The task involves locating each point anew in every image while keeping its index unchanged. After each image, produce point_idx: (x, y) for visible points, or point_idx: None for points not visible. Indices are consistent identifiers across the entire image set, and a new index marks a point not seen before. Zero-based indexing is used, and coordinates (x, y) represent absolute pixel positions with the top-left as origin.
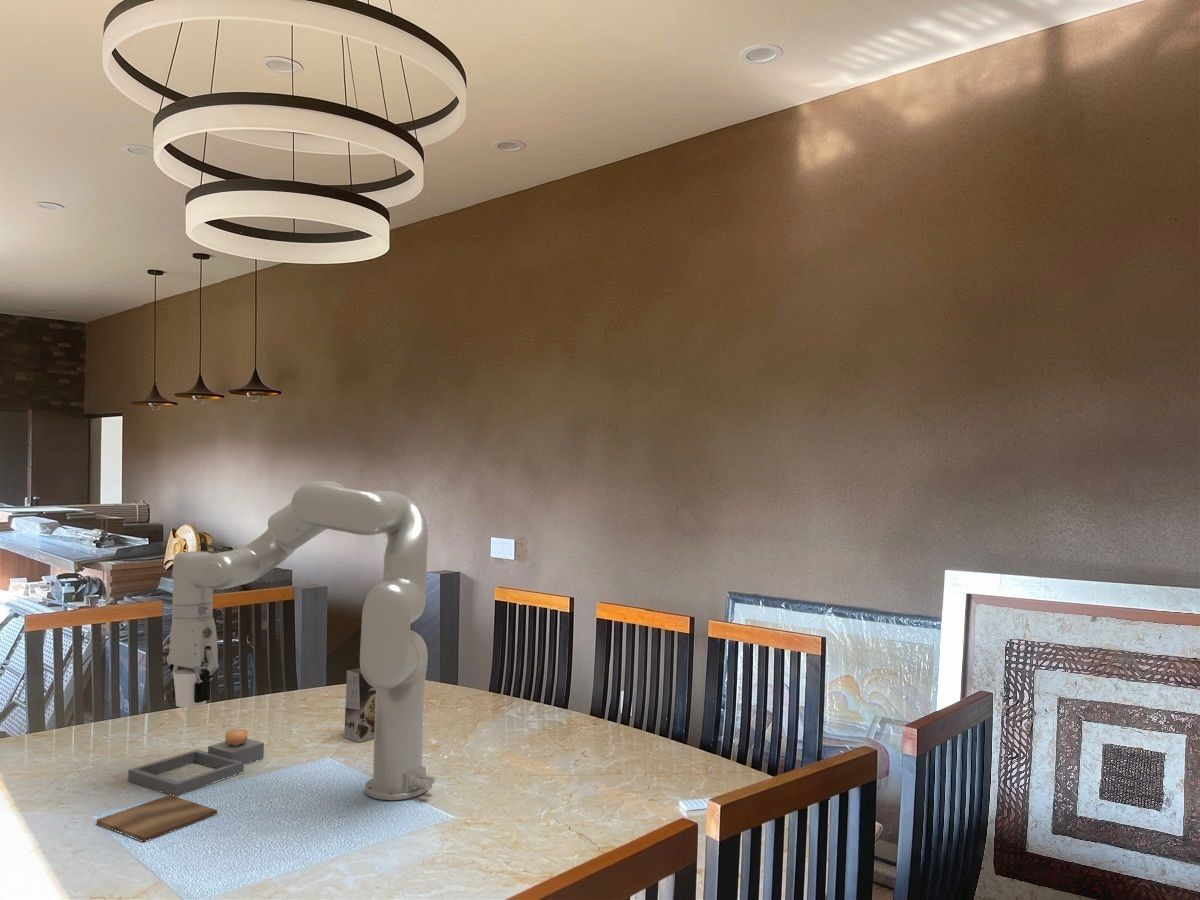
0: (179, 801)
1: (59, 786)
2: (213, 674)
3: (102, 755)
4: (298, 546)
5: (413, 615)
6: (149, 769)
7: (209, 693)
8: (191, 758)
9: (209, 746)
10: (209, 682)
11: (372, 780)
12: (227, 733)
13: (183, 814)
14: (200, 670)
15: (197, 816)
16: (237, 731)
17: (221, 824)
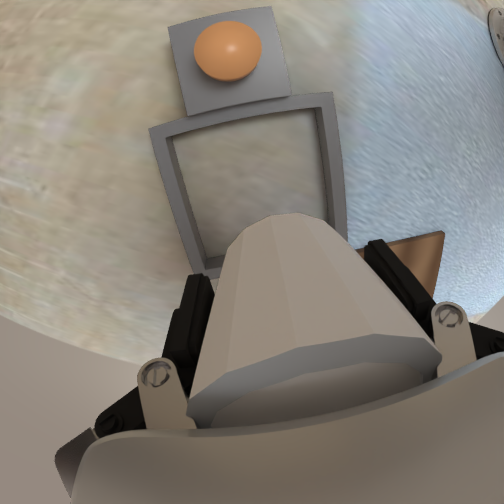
0: None
1: (160, 335)
2: (499, 334)
3: (46, 255)
4: None
5: None
6: (198, 243)
7: (392, 254)
8: (170, 146)
9: (191, 113)
10: (424, 294)
11: (502, 46)
12: (220, 73)
13: (421, 268)
14: (387, 391)
15: (438, 259)
16: (223, 44)
17: (461, 240)
